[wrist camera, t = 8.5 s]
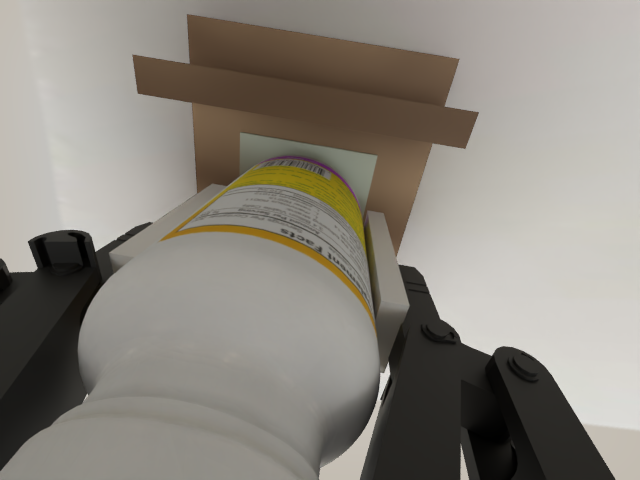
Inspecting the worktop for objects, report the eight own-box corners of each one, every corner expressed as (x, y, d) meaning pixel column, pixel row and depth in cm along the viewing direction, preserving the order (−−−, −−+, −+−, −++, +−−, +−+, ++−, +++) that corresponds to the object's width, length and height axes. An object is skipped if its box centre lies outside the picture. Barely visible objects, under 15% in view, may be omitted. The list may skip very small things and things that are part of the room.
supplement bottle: (288, 289, 17) (164, 687, 6) (208, 201, 15) (-254, 559, 3) (387, 232, 15) (516, 709, 3) (310, 119, 13) (-56, 379, 1)
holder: (197, 19, 13) (122, -17, 9) (452, 61, 13) (503, 45, 9) (209, 290, 21) (171, 343, 16) (372, 318, 21) (378, 380, 16)
